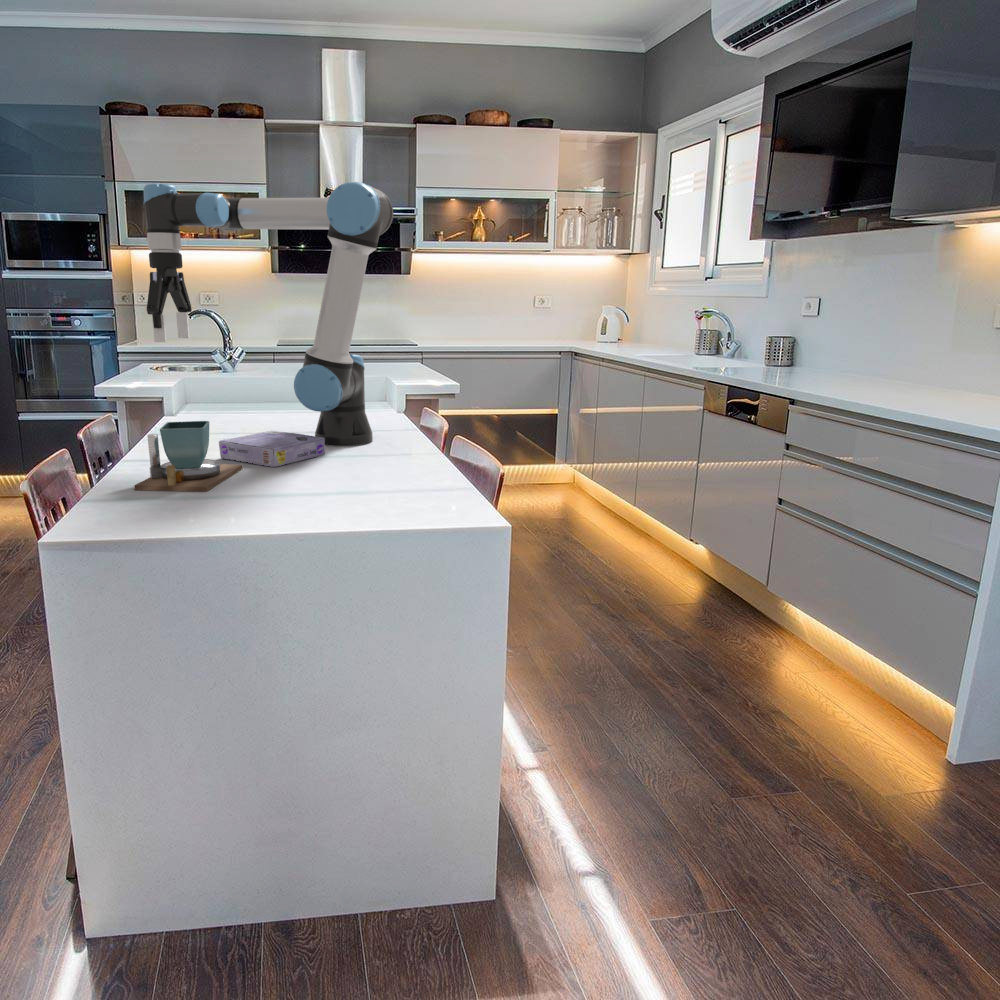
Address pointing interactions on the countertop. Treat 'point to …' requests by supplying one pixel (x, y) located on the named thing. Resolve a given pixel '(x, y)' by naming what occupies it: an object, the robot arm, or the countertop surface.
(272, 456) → the cake pan box
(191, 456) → the flower pot
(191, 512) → the countertop surface
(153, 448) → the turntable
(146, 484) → the base
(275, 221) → the robot arm
